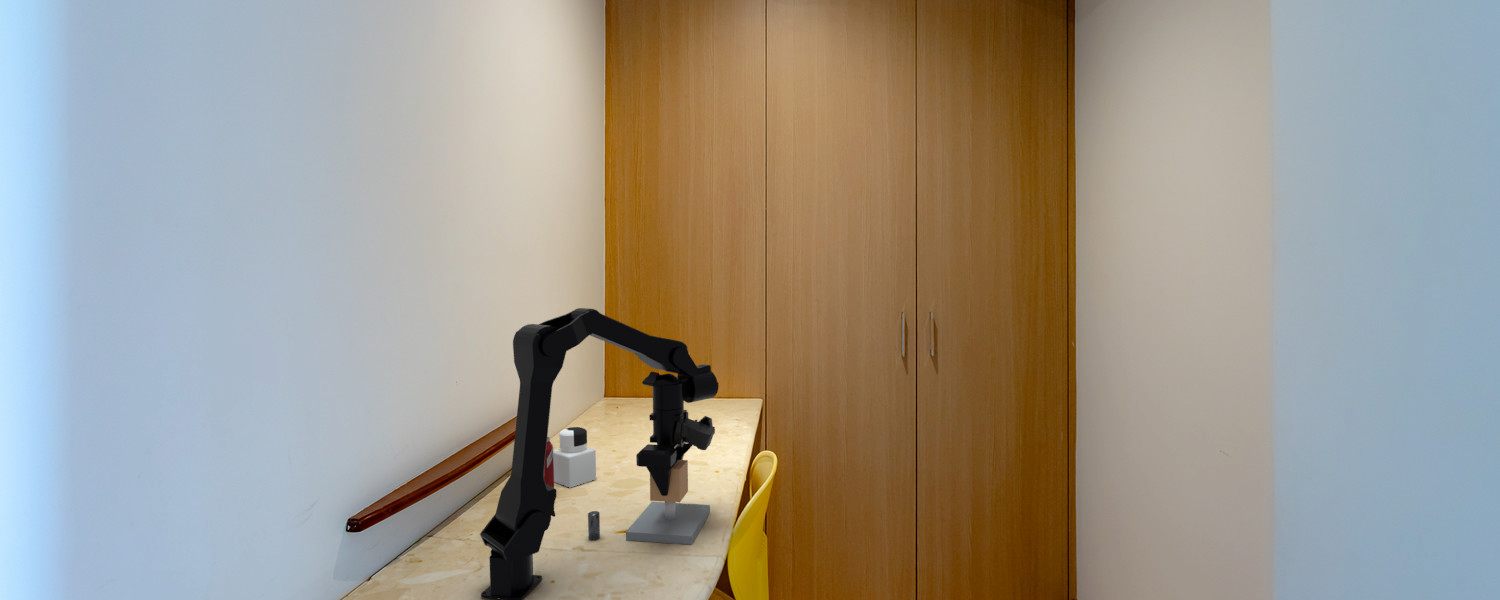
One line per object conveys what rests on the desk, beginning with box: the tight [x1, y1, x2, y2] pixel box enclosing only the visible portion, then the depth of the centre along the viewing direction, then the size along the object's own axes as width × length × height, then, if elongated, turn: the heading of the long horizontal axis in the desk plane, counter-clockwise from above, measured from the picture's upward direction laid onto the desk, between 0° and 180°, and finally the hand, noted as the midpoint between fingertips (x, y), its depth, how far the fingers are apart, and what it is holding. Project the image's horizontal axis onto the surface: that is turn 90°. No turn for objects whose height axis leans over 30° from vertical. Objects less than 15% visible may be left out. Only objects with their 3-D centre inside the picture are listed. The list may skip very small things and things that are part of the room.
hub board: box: [625, 501, 711, 546], centre depth 111 cm, size 14×12×6 cm
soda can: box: [544, 436, 555, 488], centre depth 127 cm, size 7×7×12 cm
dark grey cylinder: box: [587, 510, 601, 541], centre depth 106 cm, size 2×2×4 cm
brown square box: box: [649, 459, 689, 503], centre depth 111 cm, size 6×6×6 cm
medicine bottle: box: [553, 426, 597, 489], centre depth 135 cm, size 7×7×12 cm
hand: (669, 489), depth 111 cm, fingers closed on brown square box, 6 cm apart
